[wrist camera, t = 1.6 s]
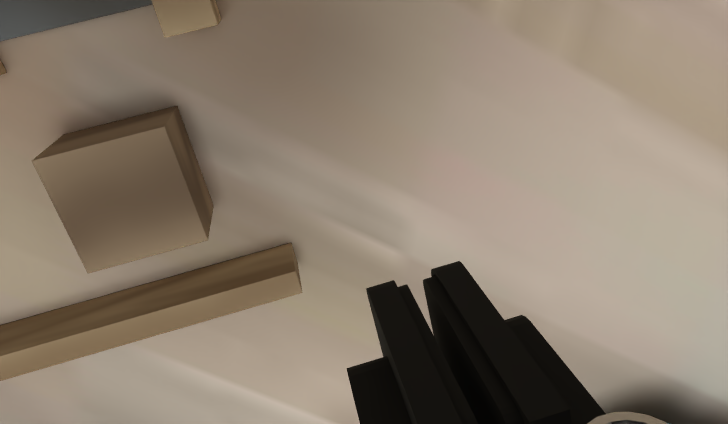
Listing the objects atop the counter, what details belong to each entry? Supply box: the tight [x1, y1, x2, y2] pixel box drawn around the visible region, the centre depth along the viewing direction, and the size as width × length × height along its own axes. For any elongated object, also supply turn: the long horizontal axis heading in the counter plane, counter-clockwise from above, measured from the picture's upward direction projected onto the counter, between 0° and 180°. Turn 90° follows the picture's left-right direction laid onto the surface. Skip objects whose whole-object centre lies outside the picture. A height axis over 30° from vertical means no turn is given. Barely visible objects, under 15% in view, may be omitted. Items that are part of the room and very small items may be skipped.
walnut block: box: [32, 106, 214, 273], centre depth 24 cm, size 5×5×4 cm
